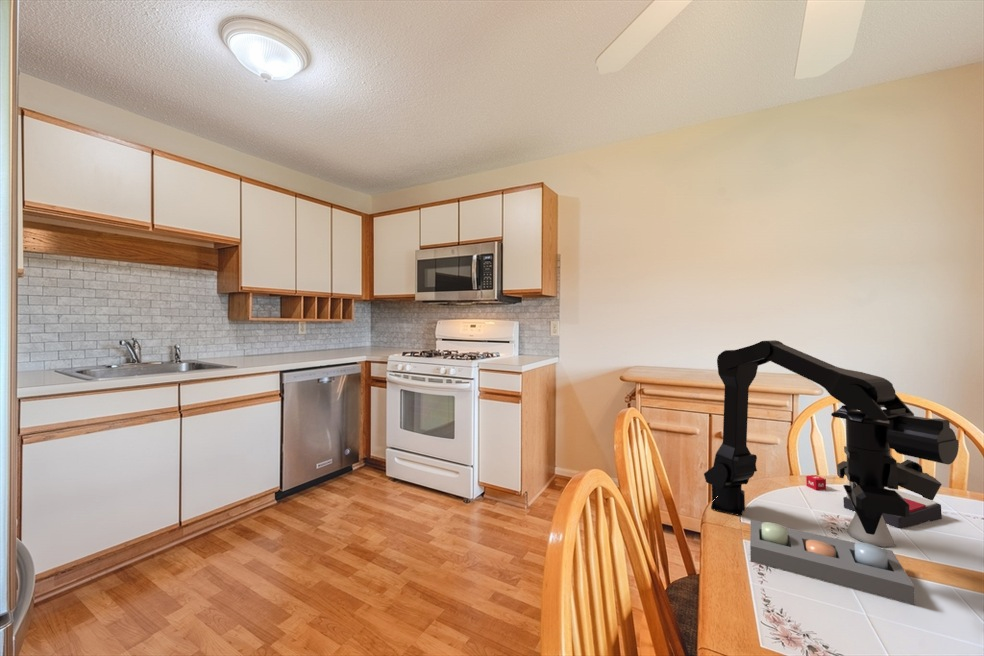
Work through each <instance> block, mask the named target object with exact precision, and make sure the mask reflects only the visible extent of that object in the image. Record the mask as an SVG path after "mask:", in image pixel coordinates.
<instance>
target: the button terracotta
mask: <svg viewBox="0 0 984 656" xmlns="http://www.w3.org/2000/svg"><path fill="white" fill-rule="evenodd" d="M806 551H809V552H813V553H818V554H822V555H826V556H830V557H834V558H835V549H834V547H832V546H831V545H829V544H827V543H825V542H822V541H818V540H807V541H806Z"/></svg>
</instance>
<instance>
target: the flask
mask: <svg viewBox="0 0 984 656" xmlns="http://www.w3.org/2000/svg"><path fill="white" fill-rule="evenodd" d="M846 531H847V533H848V535H849V536H850V537H852V538H854V539H856V540H858V541H860V542H862V543H868V544H872V545H875V546H878V547H883V548H884V547H886V546H887V547H896V546H897V545H896V542H895V540H894V538H893V535H892V534H891V531H890V530H889V528H888V524H886V523H885V521H884V518H883V516H881V519H880V521H879V524H878V526H877V529H876V532H875V534H874V535H872V534H867V533H866V532H865V530H864V528H863V526H862V524H861V522H860V520H859V517H858V515H857V513H856V512H854V516H853V518H852V519H851V521H850V522H849V524H848V526H847V528H846Z"/></svg>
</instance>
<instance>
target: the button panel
mask: <svg viewBox="0 0 984 656" xmlns="http://www.w3.org/2000/svg"><path fill="white" fill-rule="evenodd" d="M762 523H764V522H762V521H758V520H753V519H750V534H749V535H750V538H749V539H750V540H749V542H750V549H749V550H750V562H751V563H752V562H753V563H755V564H759V565H764V566H767V567H770V568H773V569H774V568H775V569H779V570H782V571H786V572H789V573H793V574H798V575H800V576H805V577H809V578H812V579H816V580H819V581H823V582H827V583H830V584H834V585H838V586H842V587H845V588H849V589H852V590H856V591H861V592H864V593H867V594H872V595H874V596H875V595H876V596H879V597H882V598H886V599H890V600H894V601H898V602H901V603H904V604H909V605H913V606H916V601H915V600H916V598H915V597H916V596H915V593H916V591H915V589H916V587H915V585H914V584H913V582H912V580H911V578H910V577H909V575H908V574H907V572H906V571H905V568H903V567H904V566H902V564H901V562H900V561H899V559H898V558H897V555H895V552H894V551H893V550H892V549H891V550H890V549H887V548H883V549H884V550H885V551H886V552H887V563H888V570H884V569H880V568H876V567H872V566H868V565H863V564H859V563H855V543H856V542H854V541H850V540H845V539H840V538H836V537H832V536H826V535H821V534H818V533H813V532H809V531H804V530H800V529H794V528H789V527H785V526H784V527H785V528H786V529H787V530H788V546H784V545H780V544H776V543H772V542H767V541H763V540H762ZM807 540H818V541H822V542H825V543H827V544H829V545H831V546H832V547H834V549H835V558H834V557H830V556H826V555H822V554H818V553H813V552H809V551H806V541H807Z"/></svg>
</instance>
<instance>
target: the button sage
mask: <svg viewBox="0 0 984 656" xmlns="http://www.w3.org/2000/svg"><path fill="white" fill-rule="evenodd" d="M786 528H787V527H786ZM786 528H785V526H783V525H781V524H779V523H776V522H775V523H774V522H770V521H768V522H767V521H766V522H765V521H764V522H763V523H762V540H763V541H767V542H772V543H776V544H780V545H784V546H788V530H787V529H786Z"/></svg>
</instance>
